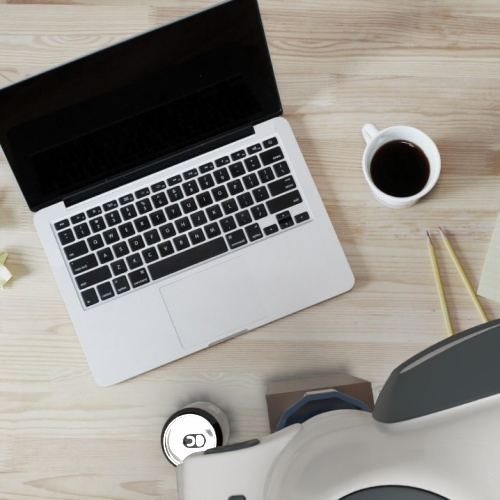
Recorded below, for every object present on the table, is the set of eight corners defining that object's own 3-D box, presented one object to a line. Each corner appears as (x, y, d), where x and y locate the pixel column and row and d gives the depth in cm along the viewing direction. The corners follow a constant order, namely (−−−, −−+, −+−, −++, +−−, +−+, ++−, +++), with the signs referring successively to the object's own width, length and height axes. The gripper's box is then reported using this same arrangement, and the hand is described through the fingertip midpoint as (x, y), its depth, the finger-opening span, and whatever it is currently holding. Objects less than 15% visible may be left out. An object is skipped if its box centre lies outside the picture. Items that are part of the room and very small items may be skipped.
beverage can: (232, 456, 86) (223, 473, 74) (175, 459, 86) (158, 476, 75) (229, 399, 87) (220, 406, 75) (173, 402, 87) (156, 409, 76)
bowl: (370, 382, 60) (377, 385, 55) (386, 490, 59) (395, 502, 54) (266, 396, 61) (265, 400, 56) (281, 503, 59) (280, 516, 54)
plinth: (344, 372, 87) (371, 381, 60) (355, 448, 86) (387, 491, 59) (271, 382, 87) (265, 395, 61) (280, 457, 86) (279, 504, 59)
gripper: (541, 410, 37) (472, 395, 51) (152, 460, 38) (188, 431, 51) (565, 537, 36) (488, 486, 50) (166, 586, 37) (198, 522, 50)
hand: (333, 458), depth 51 cm, fingers open, 8 cm apart
